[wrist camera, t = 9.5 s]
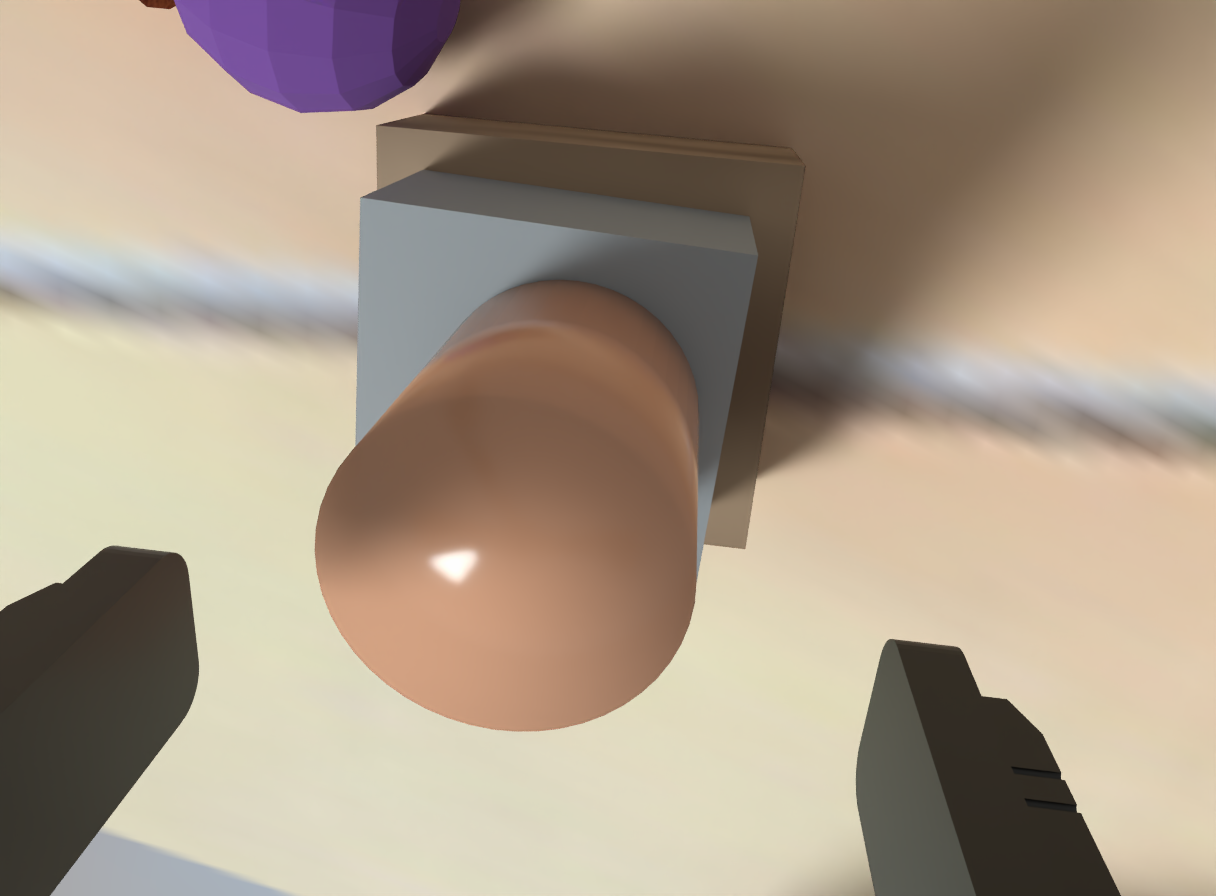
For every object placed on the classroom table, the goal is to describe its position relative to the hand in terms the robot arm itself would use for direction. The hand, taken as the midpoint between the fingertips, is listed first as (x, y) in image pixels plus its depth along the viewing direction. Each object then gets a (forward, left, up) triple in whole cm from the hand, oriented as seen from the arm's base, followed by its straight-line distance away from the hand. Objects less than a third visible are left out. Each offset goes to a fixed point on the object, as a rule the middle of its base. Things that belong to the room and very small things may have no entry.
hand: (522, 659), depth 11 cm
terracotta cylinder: (0, -1, -8) cm, 8 cm away
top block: (0, -1, -12) cm, 12 cm away
